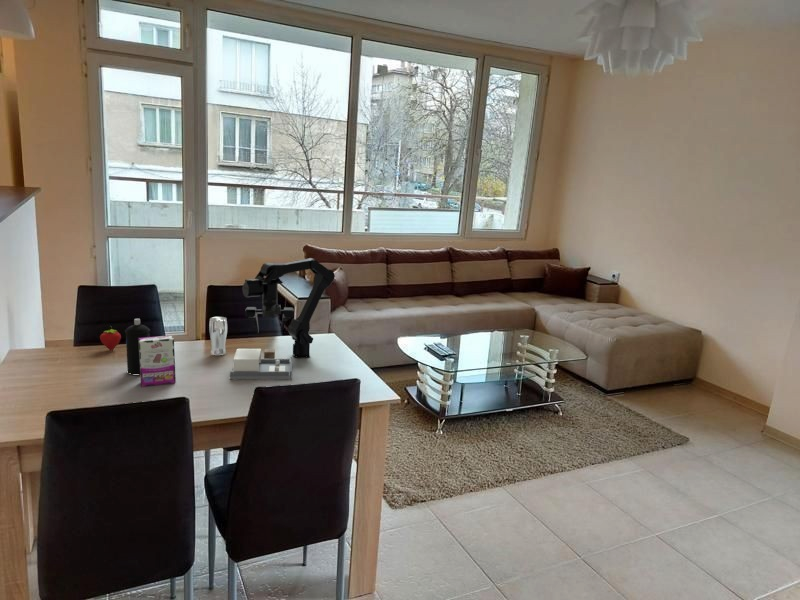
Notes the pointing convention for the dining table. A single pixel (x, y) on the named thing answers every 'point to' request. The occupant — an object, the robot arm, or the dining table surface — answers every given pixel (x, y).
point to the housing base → (267, 370)
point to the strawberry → (110, 338)
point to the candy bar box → (157, 360)
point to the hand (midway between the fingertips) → (269, 332)
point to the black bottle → (135, 345)
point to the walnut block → (269, 354)
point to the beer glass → (218, 335)
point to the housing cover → (247, 360)
